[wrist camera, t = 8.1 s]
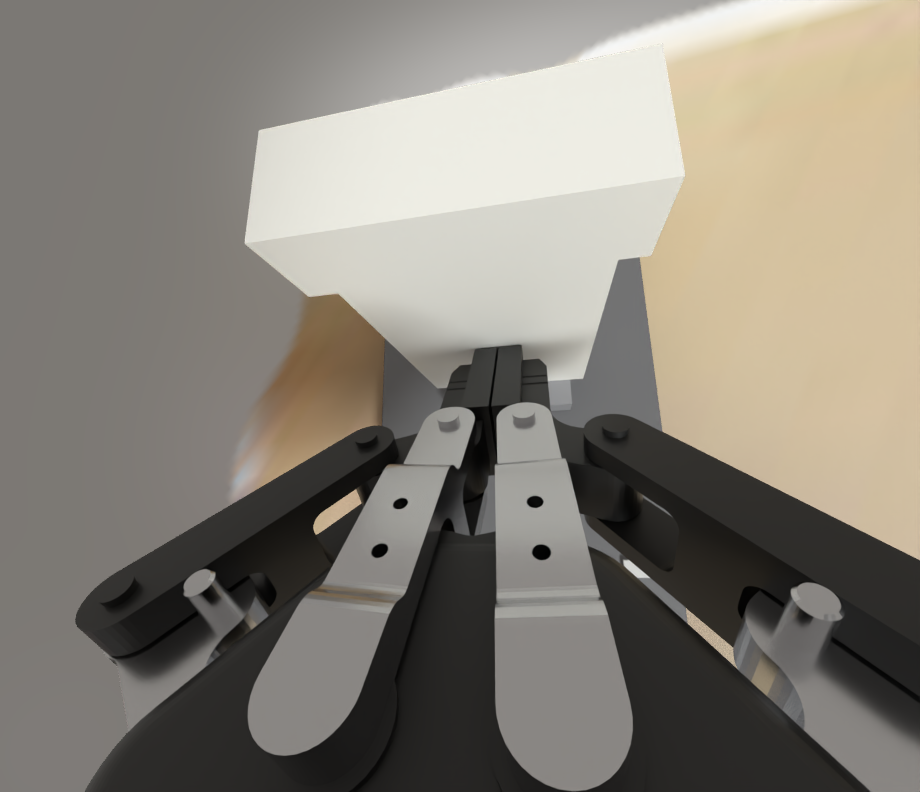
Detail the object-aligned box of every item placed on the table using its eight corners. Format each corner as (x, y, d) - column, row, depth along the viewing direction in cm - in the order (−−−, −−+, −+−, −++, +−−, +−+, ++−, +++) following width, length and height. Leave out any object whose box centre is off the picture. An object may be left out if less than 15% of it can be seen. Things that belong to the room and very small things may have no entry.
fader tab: (586, 319, 18) (656, 4, 6) (595, 408, 17) (694, 225, 5) (433, 334, 19) (262, 95, 8) (433, 417, 18) (239, 285, 7)
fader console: (618, 177, 22) (625, 141, 19) (706, 892, 14) (735, 962, 12) (402, 211, 24) (387, 183, 22) (387, 840, 17) (363, 891, 15)
